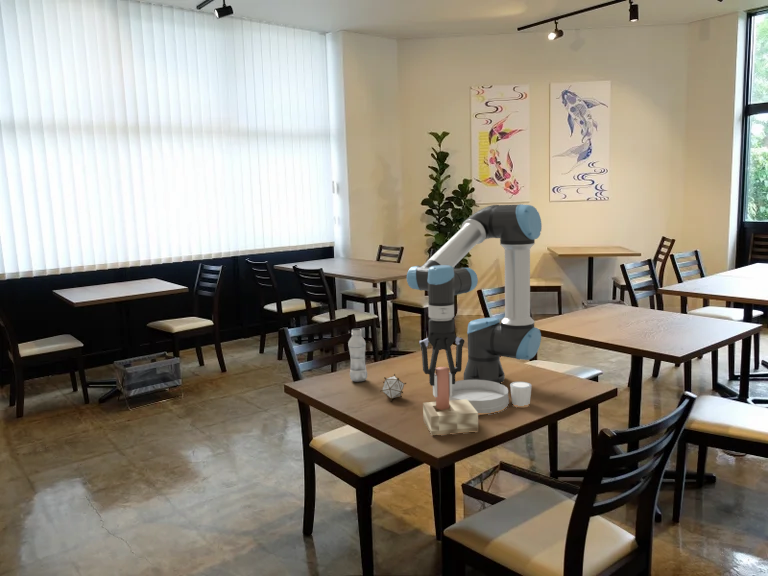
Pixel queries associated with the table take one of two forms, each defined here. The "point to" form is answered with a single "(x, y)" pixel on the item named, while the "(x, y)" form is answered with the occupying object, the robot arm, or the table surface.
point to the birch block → (450, 417)
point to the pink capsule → (442, 388)
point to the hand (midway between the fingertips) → (442, 394)
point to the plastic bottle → (357, 356)
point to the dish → (481, 394)
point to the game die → (392, 387)
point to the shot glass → (520, 393)
